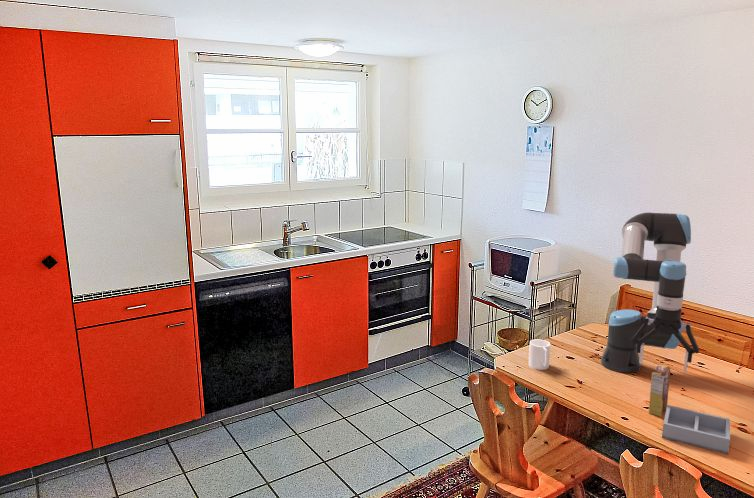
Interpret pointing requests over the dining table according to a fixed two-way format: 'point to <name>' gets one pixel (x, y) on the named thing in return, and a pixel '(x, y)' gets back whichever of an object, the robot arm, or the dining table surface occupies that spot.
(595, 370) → the dining table surface
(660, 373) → the candy box
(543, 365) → the cup
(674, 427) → the bin
